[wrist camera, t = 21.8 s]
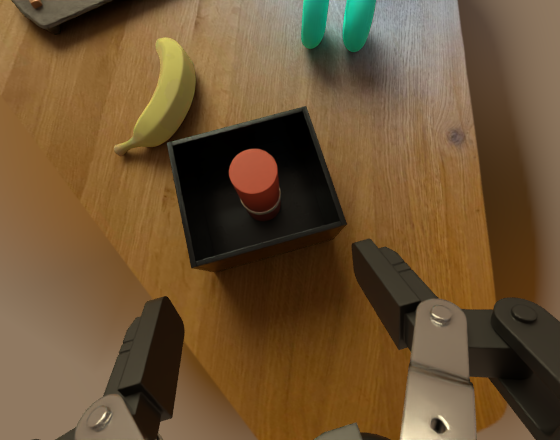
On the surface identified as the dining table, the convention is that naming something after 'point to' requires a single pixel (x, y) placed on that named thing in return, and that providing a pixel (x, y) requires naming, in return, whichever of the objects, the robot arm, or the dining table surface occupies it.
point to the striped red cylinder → (256, 183)
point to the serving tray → (55, 11)
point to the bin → (226, 202)
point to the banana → (165, 99)
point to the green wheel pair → (353, 26)
